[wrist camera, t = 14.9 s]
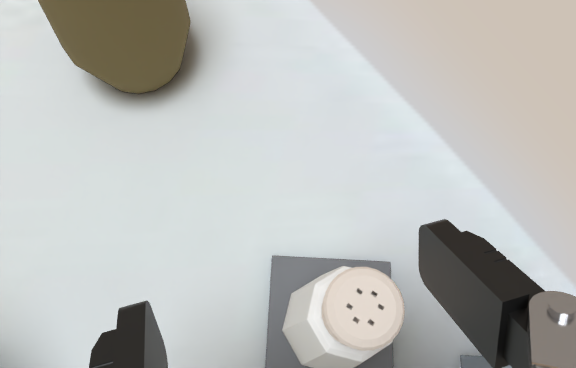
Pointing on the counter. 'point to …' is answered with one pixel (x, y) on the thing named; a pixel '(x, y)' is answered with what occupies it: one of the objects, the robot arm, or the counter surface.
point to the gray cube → (476, 362)
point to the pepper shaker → (343, 317)
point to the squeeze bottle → (122, 39)
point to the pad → (285, 281)
